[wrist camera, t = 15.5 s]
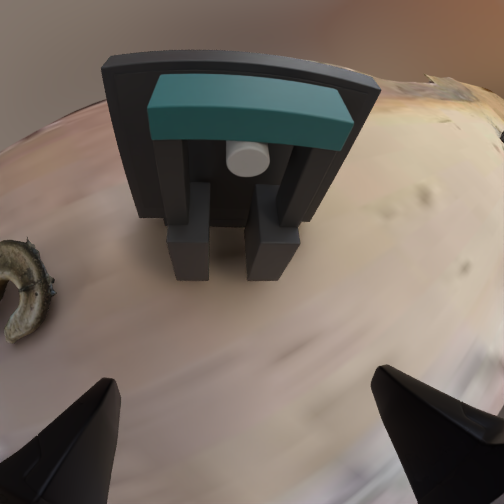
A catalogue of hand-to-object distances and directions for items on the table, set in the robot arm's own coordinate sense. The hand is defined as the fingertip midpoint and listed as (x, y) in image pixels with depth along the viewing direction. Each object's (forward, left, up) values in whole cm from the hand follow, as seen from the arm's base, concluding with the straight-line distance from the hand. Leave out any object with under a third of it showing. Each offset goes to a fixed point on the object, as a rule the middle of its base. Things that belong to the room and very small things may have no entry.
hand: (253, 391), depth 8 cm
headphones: (+9, -1, -9) cm, 13 cm away
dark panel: (+13, -2, -11) cm, 17 cm away
